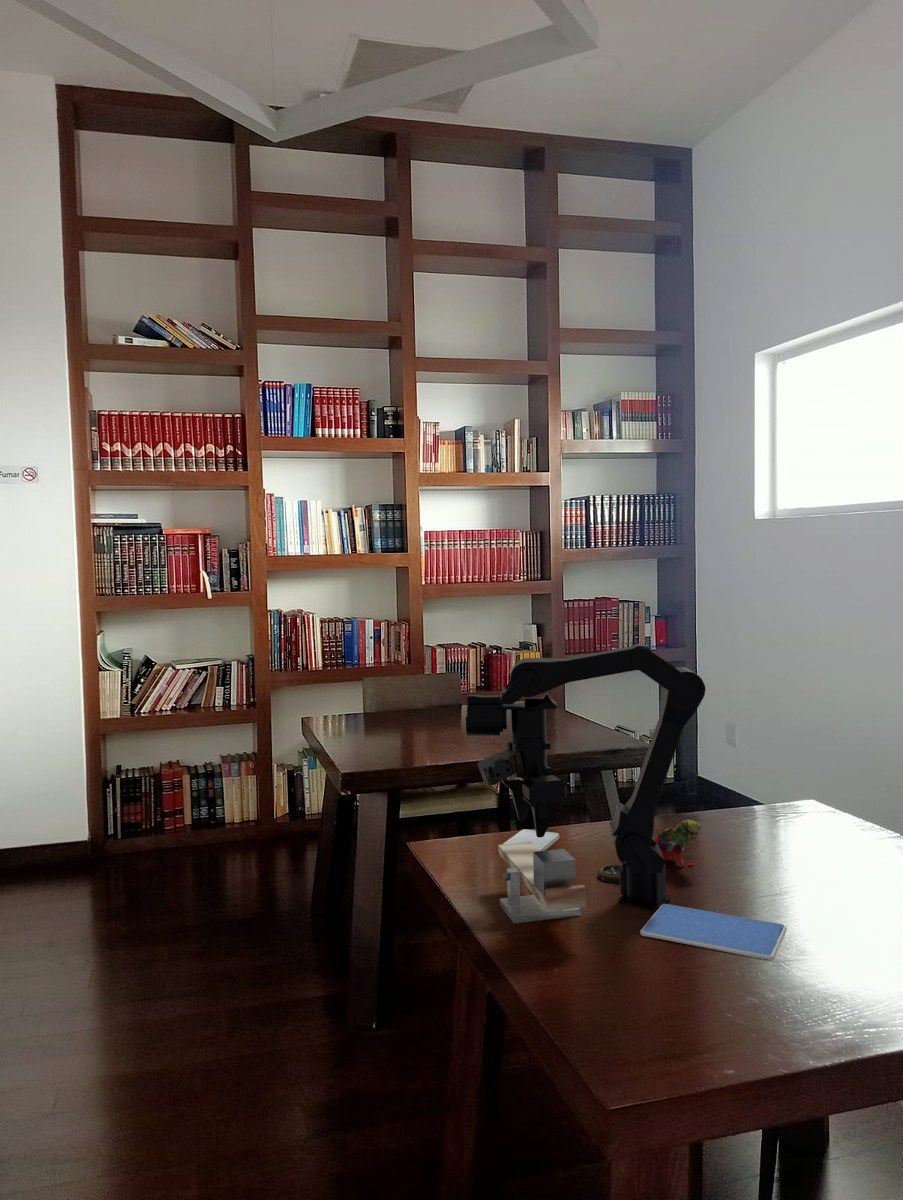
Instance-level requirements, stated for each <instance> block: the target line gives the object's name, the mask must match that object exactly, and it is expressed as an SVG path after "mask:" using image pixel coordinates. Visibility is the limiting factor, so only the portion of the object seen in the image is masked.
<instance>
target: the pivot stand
mask: <svg viewBox="0 0 903 1200" xmlns="http://www.w3.org/2000/svg"><path fill="white" fill-rule="evenodd" d="M502 880H503V882H507V883H506V888H507V889H506V890H507V893H506V894H507V897H503V898H499V906H500V905H501V906H500V907H501V908H502V909H503V911H504V912H505V913H506V915H507V917H509V919H510V920H511V922H512V923H513V924H520V923H529V922H536V921H537V922H538V921H546V920H553V919H563V918H568V917H577V916H579V917H580V916H581V908H572V909H564V910H556V911H547V910H546V909H545V908H544V907H543V906H542V904H541V903H540V902H539V901H538V900H537V899H536V897H535V896H534V895H533V894H529V895H521V883H520V882H521V879H520V872H519V870H518V869H517V868H510V867H507V868H506V872H505V873H502Z"/></svg>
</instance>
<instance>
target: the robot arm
mask: <svg viewBox="0 0 903 1200" xmlns="http://www.w3.org/2000/svg"><path fill="white" fill-rule="evenodd" d="M635 671H639V672H641V673H642V674H644V675H645V676H647V677H648V678H649V679H651V680H652V681H654V682H655V683H657V684H658V685H659V686H661V693H660V702H659V703H660V704H659V716H658V720H657V723H656V726H655V728H654V732H653V734H652V737H651V741H650V743H649V745H648V748H647V752H646V755H645V757H644V761H643V763H642V766H641V769H640V771H639V775H638V778H637V780H636V783H635V786H634V789H633V792H632V794H631V797H630V798H629V799H628V800H627V801H626V803H625V804H623V803H622V802H619V801H616V806H615V810H614V811H615V812H614V816H613V818H612V819H611V820H610V821H609V826H610V830H611V836H612V839H613V844H614V848H615V851H616V850H617V852H618V854H619V855H620V856H621V857H622V858H624V859H626V861H624V862H623V863H621V866H622V870H621V871H620V882H619V883H620V885H619V888H620V889H619V890H620V893H619V894H620V895H621V896H619V897H618V898H617V902H618V903H619V904H620V903H621V904H624V905H627V906H628V905H629V906H633V907H638V908H642V909H645V910H649V911H655V910H656V909H659V907H660V906H661V905H663V904H666V903H667V902H668V901H669V900H671V895H669V894H666V892H667V891H666V890H667V889H666V884H667V883H666V864H665V863H666V860H664V858H663V855H662V853H661V851H660V848H659V846H658V844H657V843H656V842H655V841H654V840H653V839H654V838H653V834H654V830H655V829H654V827H655V826H654V825H655V814H656V807H657V805H658V801H659V799H660V795H661V793H662V790H663V787H664V784H665V781H666V779H667V776H668V772H669V769H670V767H671V765H672V761H673V758H674V756H675V754H676V751H677V749H678V748H677V747H678V744H679V741H680V738H681V735H682V733H683V730H684V728H685V727H686V725H687V724H689V721H690V720H691V719H692V718H693V716H694V715H695V714H696V711H697V710H698V709H699V707H700V705H701V703H702V701H703V699H704V697H705V695H706V685H705V683H704V681H703V678H701V676H699V674H698V673H696V672H695V671H693V670H692V669H690V668H688V667H683V666H677V667H676V666H674V665H673V664H671V663H670V662H668V661H666V660H665V659H663V658H662V657H661V656H659V655H657V654H656V653H654V652H653V651H652V649H650V648H649V647H648V646H647V645H645V644H643V643H635V644H632V645H631V646H626V647H620V648H616V649H610V650H603V651H599V652H598V651H597V652H594V653H588V654H583V655H577V656H572V657H566V658H555V657H554V658H553V657H525V658H522V659H519V660H517V661H516V662H515V663H514V665H513V666H512V669H511V671H510V676H509V682H508V683H507V684H506V686H505V687H504V688H502V691H501V692H500V695H498V694H497V695H492V694H491V695H481V694H474V693H473V694H468V696H467V698H466V699H467V700H466V701H467V705H466V706H467V707H466V716H465V732H466V733H465V734H466V737H483V736H484V737H495V736H496V737H501V735H502V733H503V732H504V731H505V730H508V710H509V711H510V719H511V722H510V723H511V739H508V740H507V742H506V750H503V751H501V752H497V753H495V754H493V755H491V756H489V757H486V758H483V759H482V760H480V761H478V762H477V763H476V765H477V767H478V770H479V773H480V775H481V777H482V780H483V782H484V783H486V784H487V785H488V786H491V787H492V786H495V785H497V784H499V782H502V783H503V784H504V785H505V786H506V787H507V788H508V789H509V791H510V794H511V798H512V801H513V805H514V808H515V811H516V812H515V813H516V816H517V819H518V821H519V822H521V823H522V822H525V821H526V820H527V817H528V813H529V810H530V807H531V813H532V817H533V824H534V830H535V831H536V836H537V837H538V838H539V837H544V835H545V833H546V832H547V830H548V829H549V826H550V824H551V822H552V820H553V817H554V815H555V813H556V811H557V809H558V807H559V806H560V803H561V802H563V801H564V799H566V798H567V797H568V795H567V793H568V792H567V784H566V783H565V782H564V781H562V780H561V779H560V778H558V777H557V776H555V775H554V774H552V768H551V767H550V766H548V763H547V762H548V756H547V755H548V753H547V752H548V750H551V742H549V741H547V710H557V708H558V705H557V701H555V700H554V699H553V698H552V697H551V696H550V694H549V693H548V692H549V691H552V690H554V689H556V688H559V687H560V686H563V685H565V684H568V683H572V682H577V681H582V680H583V681H585V680H589V679H593V678H600V677H607V676H611V675H616V674H617V675H618V674H622V673H627V672H635ZM540 694H544V695H543V696H542V697H536V696H539V695H540ZM522 698H524V702H519V703H516V702H517V701H519V700H521V699H522Z"/></svg>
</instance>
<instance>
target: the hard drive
mask: <svg viewBox="0 0 903 1200" xmlns="http://www.w3.org/2000/svg"><path fill="white" fill-rule="evenodd" d="M559 839H560V834H559V833H558V832H551V831H546V833H545V835H544V837H539V838H538V837H537V836H536V831H535V829H521V830H520V831H518V832H517V833H516V834H514V835H512V837H510V838H508V839H507V840H506V841H505V842H503V843H502V844H501V845H503V844H512V843H522V842H532V843H533V844H534V845H535V846H536V847H537V848H538V849H539V850H540V851H547V850H548V849H549V848H550V847H551V846H552V845H553V844H555V842H557V841H558V840H559ZM497 852H498V853H499V851H497Z"/></svg>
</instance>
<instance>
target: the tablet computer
mask: <svg viewBox="0 0 903 1200" xmlns="http://www.w3.org/2000/svg"><path fill="white" fill-rule="evenodd" d="M786 930H787V931H788V929H787V926H786V925H785V924H782V923H777V922H772V921H766V920H761V919H753V918H747V917H744V916H743V917H742V916H737V915H730V914H726V913H725V914H724V913H719V912H715V911H714V912H713V911H707V910H702V909H697V908H692V907H691V908H690V907H685V906H681V905H680V906H679V905H675V904H667V903H664V904H662V905H661V906H659V907H658V908H657V910H656V911H655V912H654V913H653V914H652V916H651V917H650V919H649V920H648V921H647V922H646V923H645V924H644V925H643V926H642V928H641V929H640V931H639V934H640V936H643V937H646V938H653V939H658V940H663V941H667V942H674V943H677V944H679V943H680V944H685V945H689V946H694V947H700V948H704V949H710V950H715V951H719V952H724V953H730V954H735V955H739V956H743V957H750V958H755V959H759V958H761V959H760V960H764V959H768V960H767V961H773V960H774V959H775V958H776V954H777V953H778V951H777V950H779V948H780V946H781V944H782V942H783V940H784V937H785V935H786V933H787V931H786ZM785 932H786V933H785ZM784 934H785V935H784ZM783 936H784V937H783ZM782 939H783V940H782ZM781 941H782V942H781ZM780 943H781V944H780ZM779 945H780V946H779ZM778 947H779V948H778ZM776 952H777V953H776ZM773 958H774V959H773Z"/></svg>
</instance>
